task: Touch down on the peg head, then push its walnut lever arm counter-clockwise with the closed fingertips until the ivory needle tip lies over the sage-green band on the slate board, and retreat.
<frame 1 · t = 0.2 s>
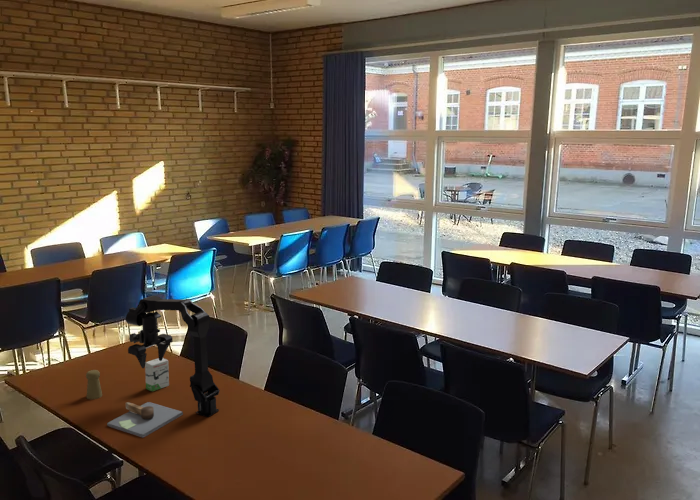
hand: (151, 364, 232), 14 cm above the table, fingers open, 9 cm apart
board: (146, 420, 216), on the table
cork: (94, 396, 235), on the table
ink box: (157, 387, 245), on the table
peg lever: (138, 409, 217), point 3 cm above the table, hinge at -5.0°
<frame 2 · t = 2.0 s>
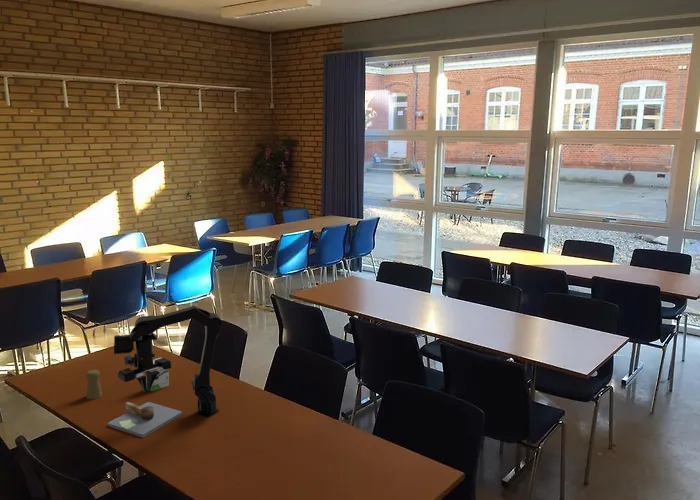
hand: (146, 390, 213), 12 cm above the table, fingers closed
nothing on the table moved.
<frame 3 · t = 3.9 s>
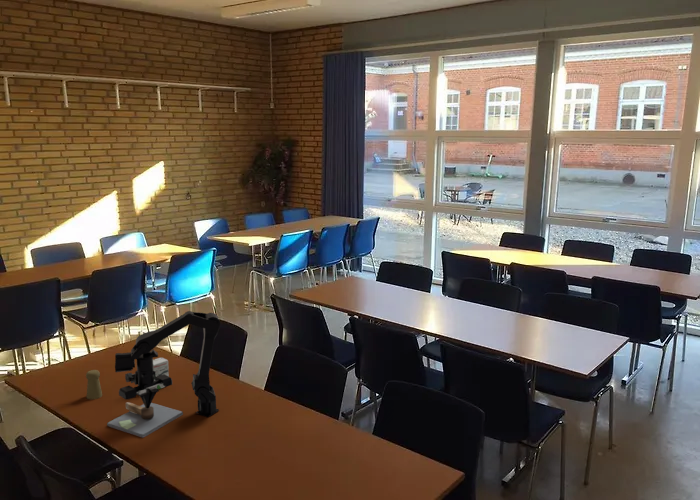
hand: (147, 407, 214), 5 cm above the table, fingers closed
nothing on the table moved.
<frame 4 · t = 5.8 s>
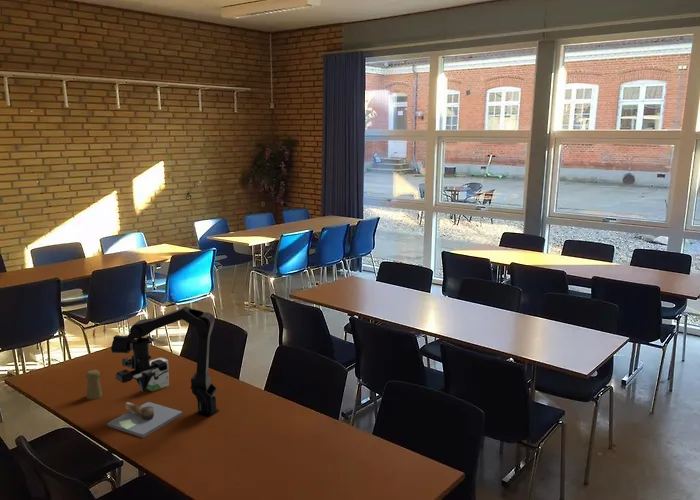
hand: (143, 391, 222), 8 cm above the table, fingers closed
nothing on the table moved.
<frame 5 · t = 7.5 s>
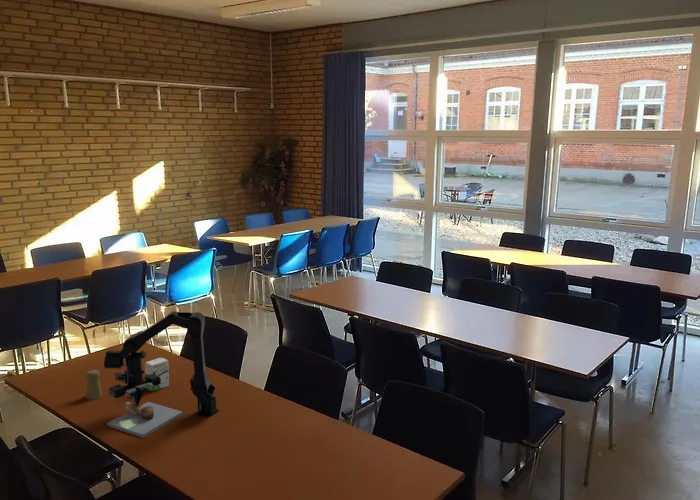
hand: (136, 406, 221), 3 cm above the table, fingers closed
peg lever: (138, 409, 217), point 3 cm above the table, hinge at -4.9°, touching gripper
everything else where it was.
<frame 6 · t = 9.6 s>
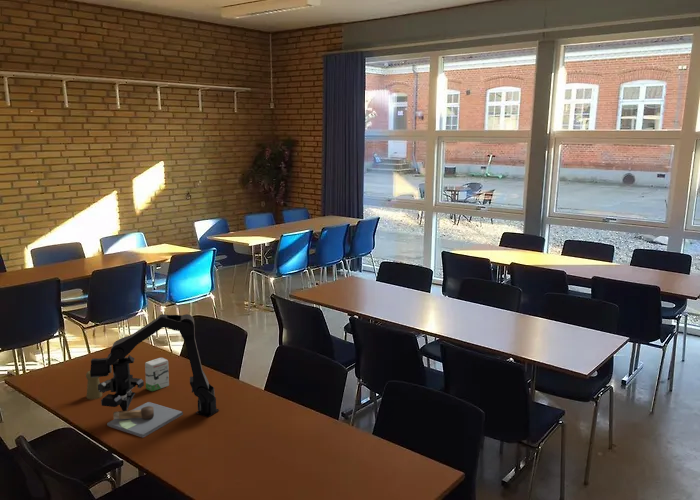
hand: (124, 412, 215), 3 cm above the table, fingers closed
peg lever: (133, 413, 214), point 3 cm above the table, hinge at 36.5°, touching gripper
everything else where it was.
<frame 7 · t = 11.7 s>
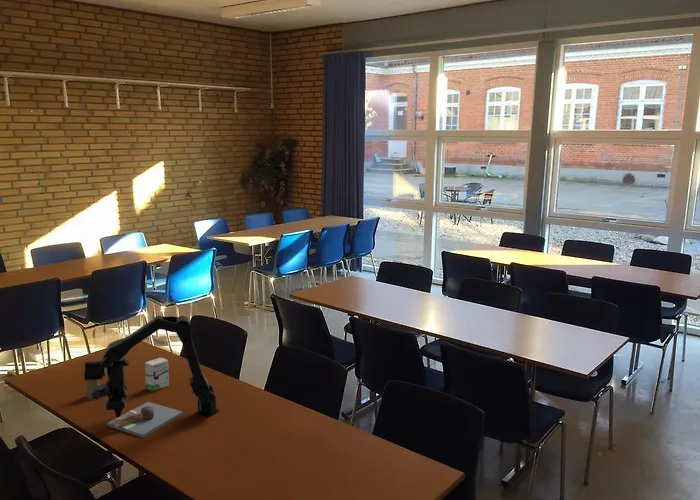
hand: (118, 416, 212), 3 cm above the table, fingers closed
peg lever: (134, 416, 211), point 3 cm above the table, hinge at 67.9°
everything else where it was.
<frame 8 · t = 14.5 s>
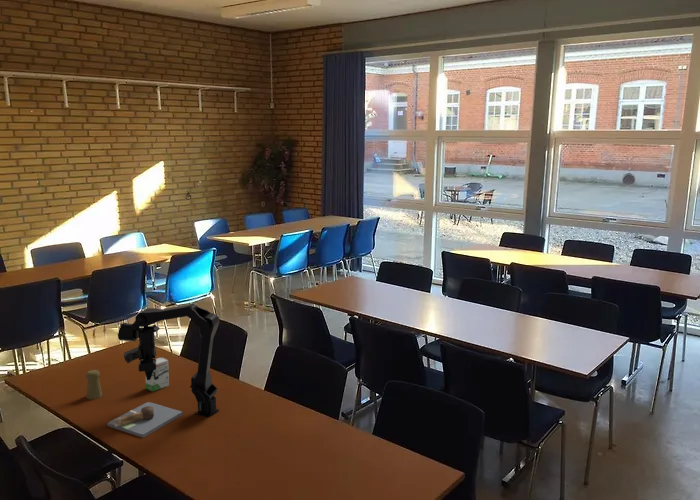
hand: (148, 379, 223), 12 cm above the table, fingers closed
nothing on the table moved.
at the end: peg lever at +68° (first picture: -5°) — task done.
